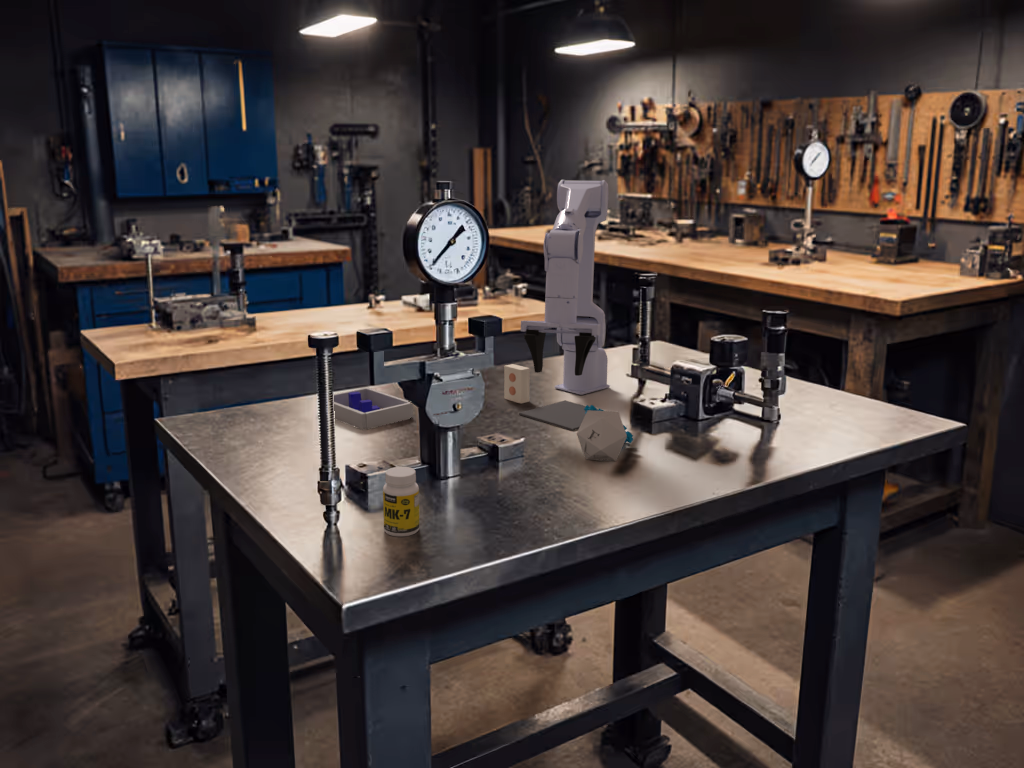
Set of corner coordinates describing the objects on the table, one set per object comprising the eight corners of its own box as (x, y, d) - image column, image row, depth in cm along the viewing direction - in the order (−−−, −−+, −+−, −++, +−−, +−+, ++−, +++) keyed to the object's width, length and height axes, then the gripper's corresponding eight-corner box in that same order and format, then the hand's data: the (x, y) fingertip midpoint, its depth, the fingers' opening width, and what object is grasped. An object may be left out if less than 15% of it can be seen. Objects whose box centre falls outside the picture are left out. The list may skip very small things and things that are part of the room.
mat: (565, 402, 179) (565, 400, 179) (618, 416, 169) (618, 414, 169) (519, 414, 170) (519, 412, 170) (572, 430, 161) (572, 428, 160)
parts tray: (367, 401, 179) (367, 387, 178) (414, 417, 168) (413, 402, 167) (318, 412, 171) (317, 397, 171) (363, 430, 160) (362, 414, 160)
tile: (512, 396, 183) (512, 363, 181) (529, 401, 180) (529, 368, 178) (503, 398, 182) (503, 365, 180) (520, 403, 178) (520, 370, 176)
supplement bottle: (379, 536, 116) (377, 476, 114) (389, 521, 121) (387, 464, 119) (414, 538, 115) (413, 478, 113) (423, 524, 120) (422, 466, 118)
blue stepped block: (380, 420, 167) (379, 400, 166) (362, 423, 165) (361, 402, 164) (366, 410, 174) (365, 390, 173) (349, 412, 172) (348, 392, 171)
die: (567, 455, 150) (565, 422, 142) (598, 423, 153) (598, 389, 146) (604, 481, 146) (605, 448, 138) (636, 447, 150) (638, 414, 142)
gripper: (515, 296, 156) (512, 372, 157) (593, 299, 150) (590, 378, 152) (529, 296, 162) (526, 369, 164) (605, 299, 157) (601, 374, 158)
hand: (558, 373), depth 158 cm, fingers open, 7 cm apart
